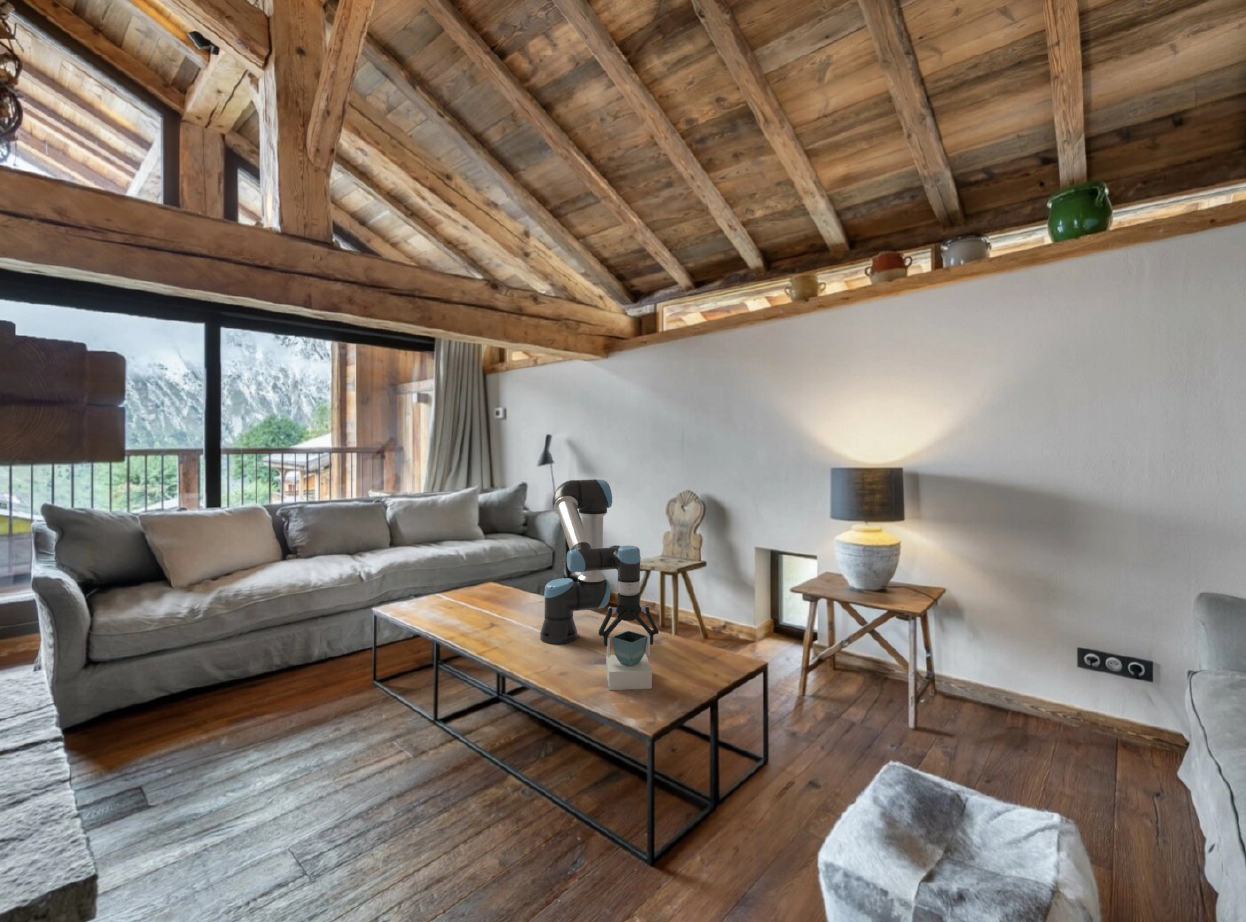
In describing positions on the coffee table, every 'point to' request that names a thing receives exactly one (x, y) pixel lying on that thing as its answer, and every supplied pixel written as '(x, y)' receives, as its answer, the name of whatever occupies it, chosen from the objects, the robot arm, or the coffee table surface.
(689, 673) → the coffee table surface
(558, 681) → the coffee table surface
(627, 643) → the flower pot
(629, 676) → the stone slab
